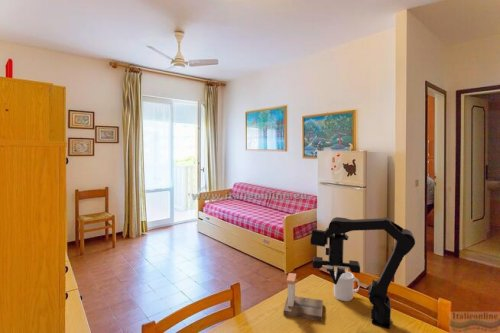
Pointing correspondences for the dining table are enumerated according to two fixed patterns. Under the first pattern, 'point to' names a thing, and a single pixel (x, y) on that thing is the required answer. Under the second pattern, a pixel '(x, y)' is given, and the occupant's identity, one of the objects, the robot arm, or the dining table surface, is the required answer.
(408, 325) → the dining table surface
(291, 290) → the fader tab
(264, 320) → the dining table surface
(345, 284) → the mug
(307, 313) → the fader console
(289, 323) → the dining table surface
